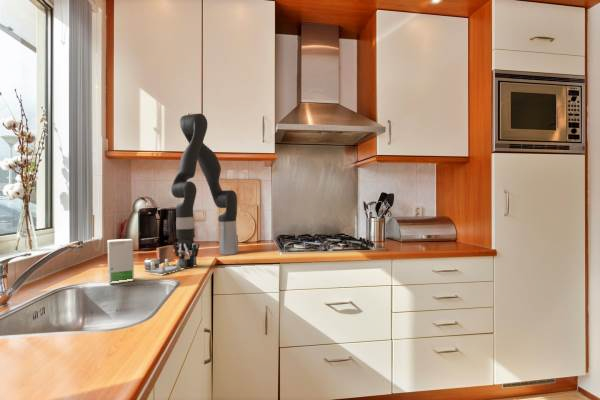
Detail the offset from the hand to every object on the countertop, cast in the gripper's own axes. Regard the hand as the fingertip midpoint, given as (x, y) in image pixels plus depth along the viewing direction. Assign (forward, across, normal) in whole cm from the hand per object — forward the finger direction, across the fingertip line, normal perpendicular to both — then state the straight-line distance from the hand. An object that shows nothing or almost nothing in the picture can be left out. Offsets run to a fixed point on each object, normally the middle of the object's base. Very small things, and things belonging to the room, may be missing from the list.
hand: (186, 266), depth 150 cm
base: (0, +10, +10) cm, 14 cm away
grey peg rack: (-2, +10, +5) cm, 12 cm away
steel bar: (0, 0, 0) cm, 0 cm away
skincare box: (+1, +4, +28) cm, 28 cm away
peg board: (0, +1, +10) cm, 11 cm away
